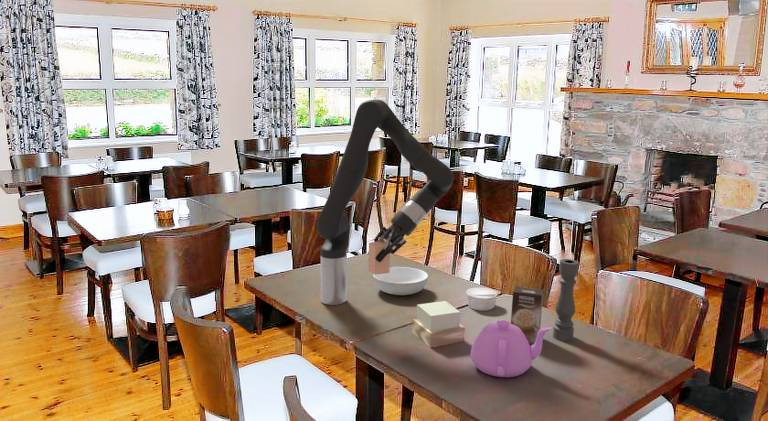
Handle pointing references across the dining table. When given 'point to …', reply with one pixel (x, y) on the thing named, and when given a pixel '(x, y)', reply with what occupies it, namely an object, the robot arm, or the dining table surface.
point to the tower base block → (437, 334)
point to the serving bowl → (401, 280)
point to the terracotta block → (373, 263)
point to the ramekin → (481, 298)
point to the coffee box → (527, 311)
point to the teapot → (505, 349)
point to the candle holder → (566, 301)
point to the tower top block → (438, 316)
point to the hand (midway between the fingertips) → (373, 257)
